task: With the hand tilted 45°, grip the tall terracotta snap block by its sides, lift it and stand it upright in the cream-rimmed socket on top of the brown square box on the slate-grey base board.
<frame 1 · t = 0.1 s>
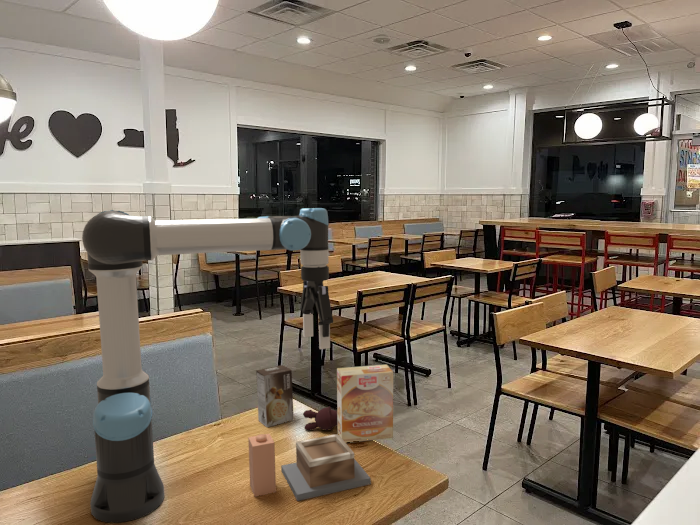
hand: (316, 342, 144), 28 cm above the table, tool pointing down, fingers open, 13 cm apart
block: (262, 488, 123), on the table
brown square box: (324, 459, 127), on the base board, point 5 cm above the table
base board: (325, 477, 127), on the table
coffeecake box: (365, 436, 150), on the table
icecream: (329, 429, 154), on the table
coffee box: (275, 421, 160), on the table
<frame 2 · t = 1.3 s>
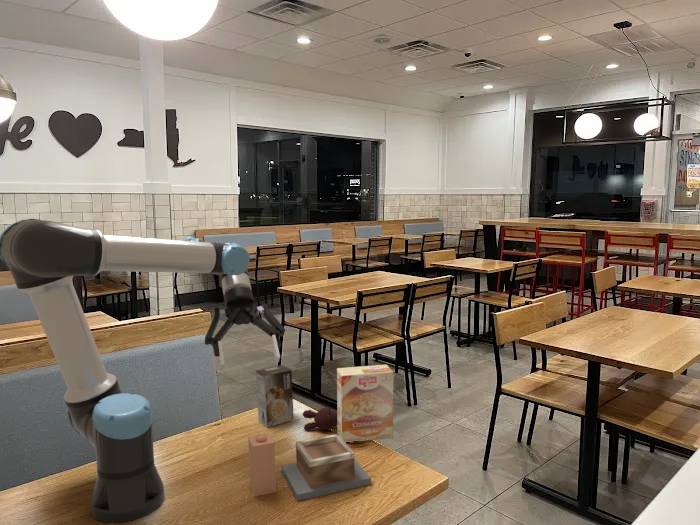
hand: (250, 363, 129), 27 cm above the table, tool tilted 45°, fingers open, 13 cm apart
nothing on the table moved.
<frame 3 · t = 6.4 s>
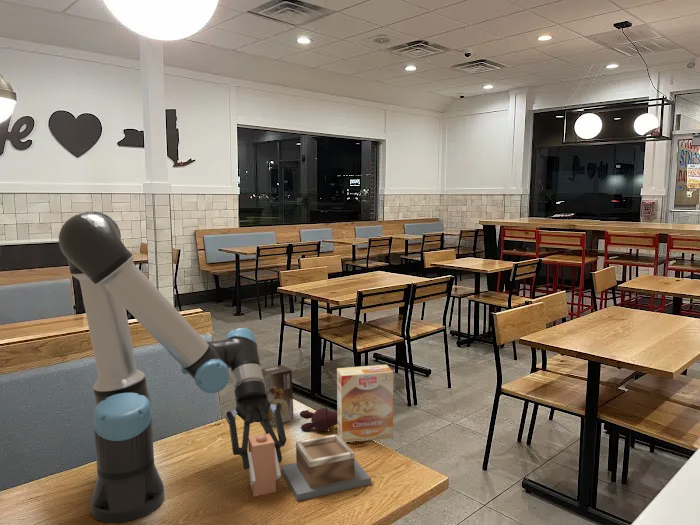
hand: (265, 479, 119), 4 cm above the table, tool tilted 45°, fingers closed on block, 5 cm apart
block: (262, 488, 123), on the table, touching gripper
coffeecake box: (365, 436, 150), on the table, touching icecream
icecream: (325, 430, 154), on the table, touching coffeecake box
everything else where it was.
when the fingers open (13 cm above the table, at t = 12.0 s): block drops 2 cm, resting on brown square box.
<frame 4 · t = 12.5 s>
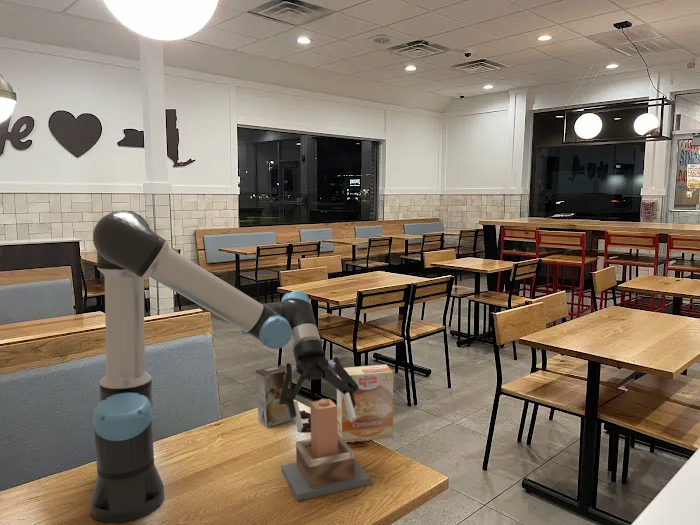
hand: (327, 424, 123), 14 cm above the table, tool tilted 45°, fingers open, 12 cm apart
block: (324, 452, 126), point 6 cm above the table, touching brown square box
coffeecake box: (364, 436, 150), on the table
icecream: (321, 431, 153), on the table
everything else where it was.
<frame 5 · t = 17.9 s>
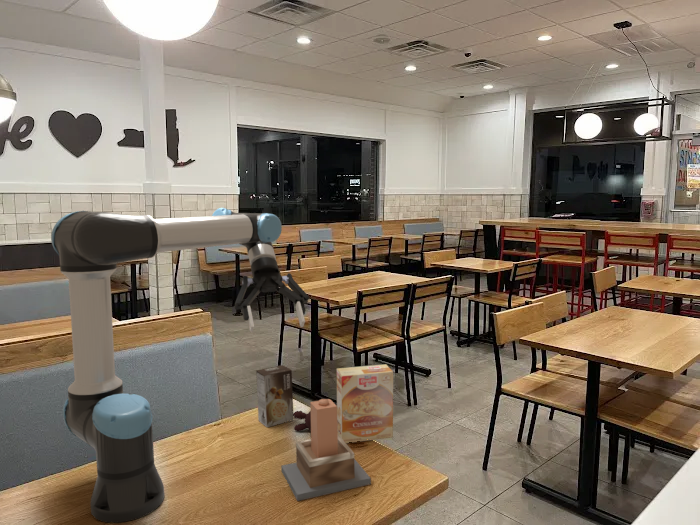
hand: (278, 327, 138), 34 cm above the table, tool tilted 45°, fingers open, 13 cm apart
at the end: block 0.0 cm off-centre on the brown square box, point 6.5 cm above the brown square box's base; block tilted 0°; the gripper is holding nothing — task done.
